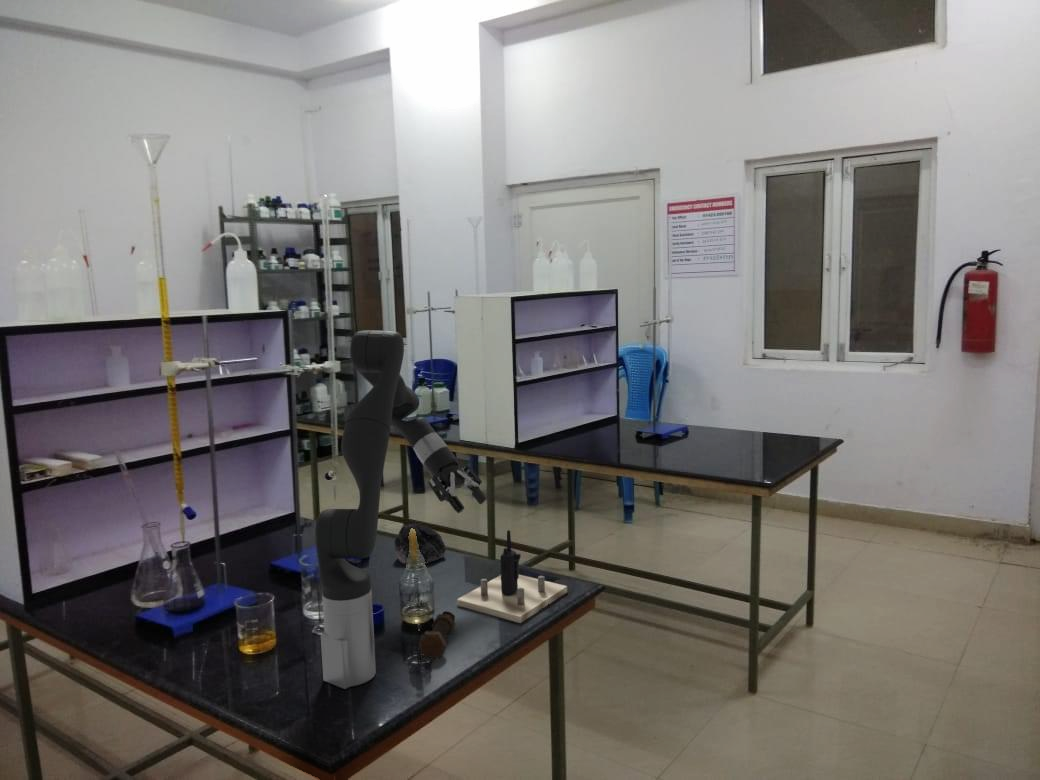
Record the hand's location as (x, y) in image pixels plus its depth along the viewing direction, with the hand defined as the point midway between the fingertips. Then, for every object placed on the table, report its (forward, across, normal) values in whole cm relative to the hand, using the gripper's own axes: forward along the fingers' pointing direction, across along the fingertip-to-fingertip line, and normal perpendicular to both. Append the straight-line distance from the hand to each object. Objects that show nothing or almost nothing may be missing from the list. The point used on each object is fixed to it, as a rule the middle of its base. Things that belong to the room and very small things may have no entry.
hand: (472, 506), depth 187 cm
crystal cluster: (-4, +9, +34) cm, 35 cm away
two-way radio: (+22, 0, +6) cm, 23 cm away
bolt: (+23, -26, +8) cm, 35 cm away
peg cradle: (+23, 0, +7) cm, 24 cm away
